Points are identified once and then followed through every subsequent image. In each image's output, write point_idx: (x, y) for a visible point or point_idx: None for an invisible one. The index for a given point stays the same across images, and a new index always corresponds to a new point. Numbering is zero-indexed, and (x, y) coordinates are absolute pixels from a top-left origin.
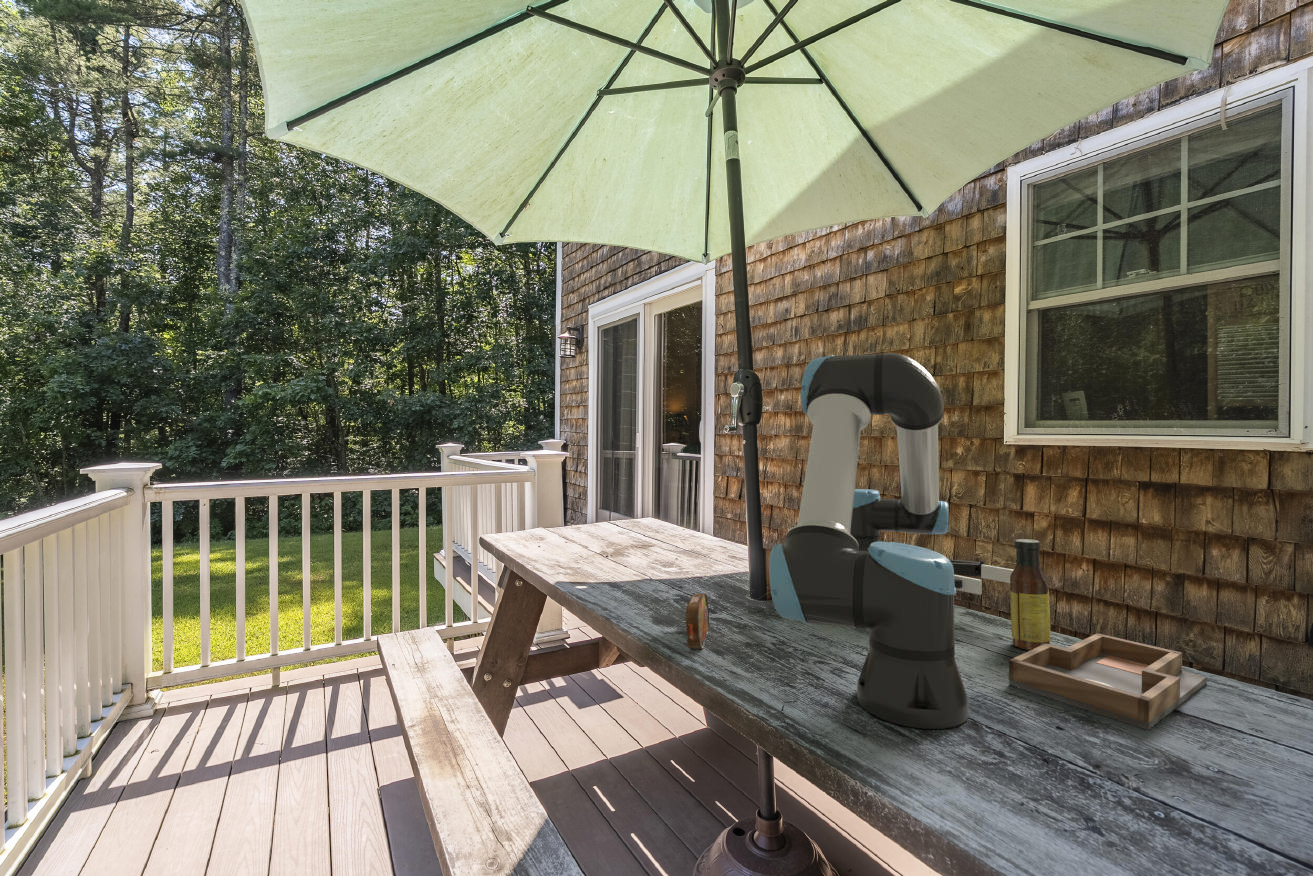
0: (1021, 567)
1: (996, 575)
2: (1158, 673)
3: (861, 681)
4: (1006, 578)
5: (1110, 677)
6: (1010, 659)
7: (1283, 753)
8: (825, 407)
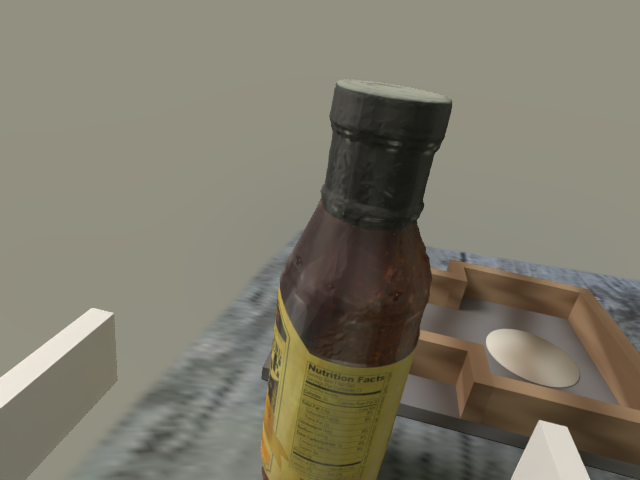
0: (416, 231)
1: (32, 437)
2: (459, 270)
3: None
4: (86, 391)
5: (442, 333)
6: None
7: (486, 260)
8: None
